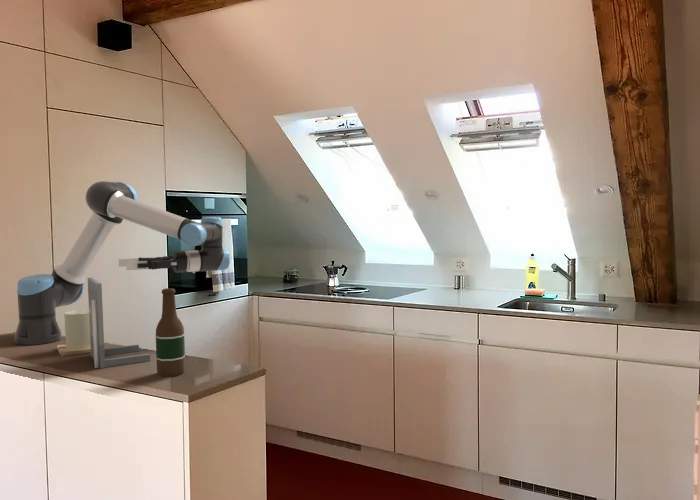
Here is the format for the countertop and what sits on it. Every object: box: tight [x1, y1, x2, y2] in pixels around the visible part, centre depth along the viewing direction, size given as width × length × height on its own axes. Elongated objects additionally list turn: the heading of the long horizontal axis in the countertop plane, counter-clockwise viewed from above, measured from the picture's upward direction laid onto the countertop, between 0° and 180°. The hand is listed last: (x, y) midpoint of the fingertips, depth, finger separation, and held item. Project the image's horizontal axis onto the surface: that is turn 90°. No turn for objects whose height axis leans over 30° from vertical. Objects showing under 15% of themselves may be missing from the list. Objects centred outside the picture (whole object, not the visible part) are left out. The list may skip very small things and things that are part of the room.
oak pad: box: [56, 343, 91, 357], centre depth 207 cm, size 13×13×1 cm
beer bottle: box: [155, 287, 186, 378], centre depth 174 cm, size 8×8×24 cm
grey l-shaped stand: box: [87, 277, 151, 369], centre depth 193 cm, size 20×16×25 cm
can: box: [63, 309, 91, 349], centre depth 207 cm, size 9×9×12 cm
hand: (122, 264), depth 208 cm, fingers open, 13 cm apart
